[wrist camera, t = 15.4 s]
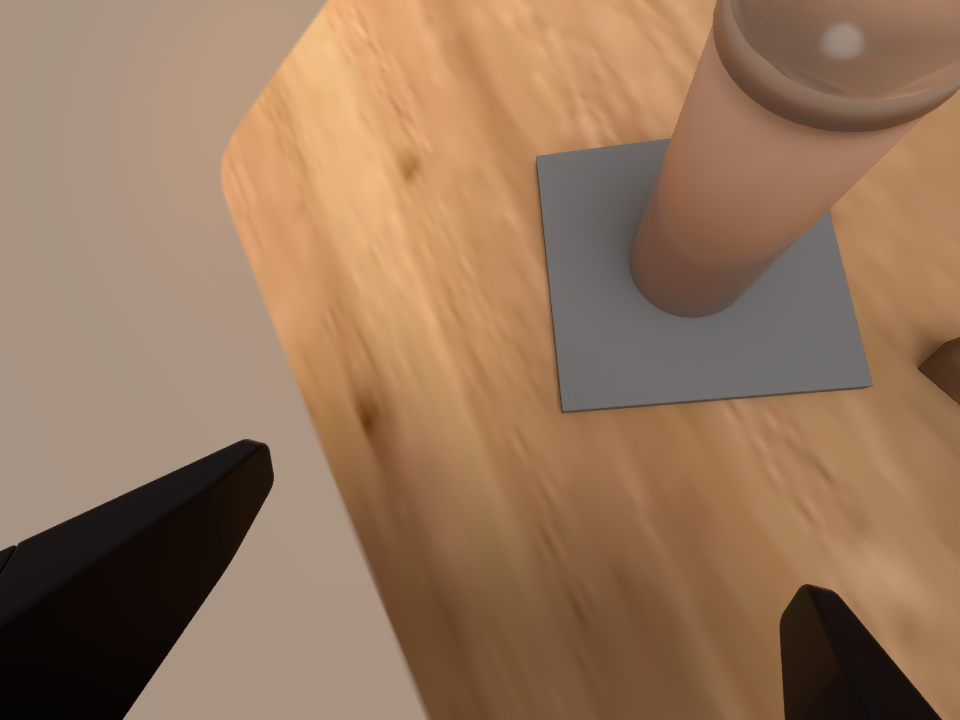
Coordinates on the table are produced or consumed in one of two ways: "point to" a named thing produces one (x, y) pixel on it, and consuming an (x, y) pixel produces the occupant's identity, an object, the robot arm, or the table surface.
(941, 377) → the walnut rail
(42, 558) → the robot arm
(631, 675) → the table surface
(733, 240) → the terracotta jar
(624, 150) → the dark grey mat
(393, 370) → the table surface
